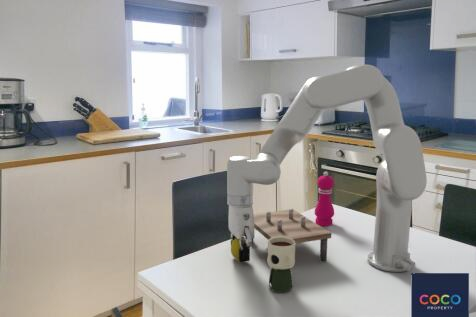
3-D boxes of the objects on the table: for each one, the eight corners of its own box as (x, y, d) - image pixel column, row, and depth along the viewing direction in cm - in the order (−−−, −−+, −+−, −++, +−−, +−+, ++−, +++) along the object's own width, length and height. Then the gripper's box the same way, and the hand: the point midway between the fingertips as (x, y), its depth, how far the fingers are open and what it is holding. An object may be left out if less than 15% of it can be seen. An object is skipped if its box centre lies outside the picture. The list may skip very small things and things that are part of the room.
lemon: (240, 255, 131) (240, 231, 129) (253, 261, 127) (253, 235, 125) (227, 260, 127) (227, 235, 125) (240, 266, 123) (240, 241, 122)
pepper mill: (319, 218, 164) (321, 168, 160) (337, 223, 159) (339, 171, 155) (310, 224, 158) (312, 171, 154) (328, 228, 154) (330, 174, 150)
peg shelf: (330, 261, 127) (331, 223, 124) (275, 271, 120) (276, 231, 118) (292, 233, 148) (293, 200, 146) (244, 240, 142) (244, 206, 140)
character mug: (258, 281, 114) (259, 236, 112) (281, 276, 117) (282, 232, 115) (279, 301, 105) (280, 252, 102) (303, 294, 108) (305, 246, 105)
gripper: (264, 205, 117) (263, 266, 120) (241, 190, 132) (241, 244, 136) (238, 209, 114) (238, 271, 117) (218, 192, 130) (219, 247, 133)
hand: (240, 256), depth 127 cm, fingers open, 6 cm apart
